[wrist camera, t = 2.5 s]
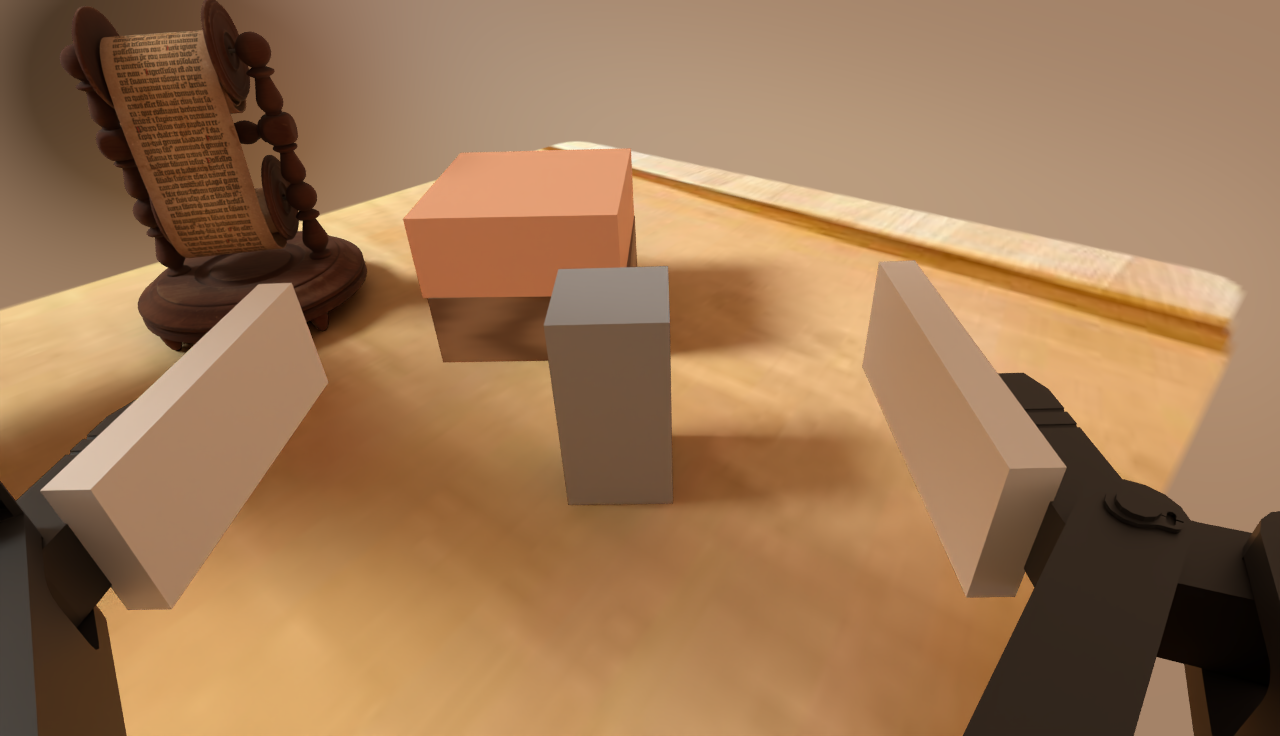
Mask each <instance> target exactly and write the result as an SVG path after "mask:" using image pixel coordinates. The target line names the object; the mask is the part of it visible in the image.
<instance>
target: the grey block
mask: <svg viewBox="0 0 1280 736" xmlns="http://www.w3.org/2000/svg"><path fill="white" fill-rule="evenodd" d="M544 332H545V339H546V346H547V354H548V361H549V368H550V375H551V382H552V390H553V397H554V404H555V411H556V419H557V426H558V433H559V440H560V448H561V455H562V462H563V469H564V476H565V484H566V491H567V498H568V505H593V504H664V503H673V482H672V422H671V362H670V312H669V282H668V266H658V267H621V268H584V269H558V273H557V277H556V280H555V284H554V288H553V292H552V296H551V299H550V303H549V307H548V311H547V315H546V318H545V322H544Z"/></svg>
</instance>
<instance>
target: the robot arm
mask: <svg viewBox="0 0 1280 736" xmlns="http://www.w3.org/2000/svg"><path fill="white" fill-rule="evenodd" d="M862 367H863V369H864V372H865V374H866V376H867V378H868V381H869V383H870V385H871V387H872V389H873V392H874V394H875V396H876V398H877V401H878V403H879V405H880V407H881V409H882V412H883V414H884V416H885V418H886V421H887V423H888V425H889V427H890V429H891V432H892V434H893V436H894V438H895V440H896V443H897V445H898V447H899V449H900V452H901V454H902V456H903V458H904V460H905V463H906V465H907V467H908V469H909V472H910V474H911V476H912V478H913V480H914V483H915V485H916V487H917V489H918V492H919V494H920V496H921V498H922V500H923V503H924V505H925V507H926V509H927V512H928V514H929V516H930V518H931V520H932V523H933V525H934V527H935V529H936V531H937V534H938V536H939V538H940V540H941V543H942V545H943V547H944V549H945V551H946V554H947V556H948V558H949V560H950V563H951V565H952V567H953V569H954V571H955V574H956V576H957V578H958V580H959V583H960V585H961V587H962V589H963V591H964V594H965V596H966V597H1015V596H1016V593H1017V591H1018V588H1019V586H1020V583H1021V581H1022V578H1023V576H1024V573H1025V572H1026V573H1027V575H1028V577H1029V579H1030V581H1031V582H1032V584H1033V586H1034V590H1033V592H1032V594H1031V596H1030V598H1029V600H1028V602H1027V605H1026V607H1025V609H1024V611H1023V613H1022V615H1021V617H1020V619H1019V621H1018V623H1017V625H1016V627H1015V629H1014V631H1013V633H1012V635H1011V637H1010V640H1009V642H1008V644H1007V646H1006V648H1005V650H1004V652H1003V654H1002V656H1001V658H1000V660H999V662H998V664H997V666H996V668H995V670H994V672H993V675H992V677H991V679H990V681H989V683H988V685H987V687H986V689H985V691H984V693H983V695H982V697H981V699H980V701H979V703H978V705H977V707H976V710H975V712H974V714H973V716H972V718H971V720H970V722H969V724H968V726H967V728H966V730H965V732H964V734H963V736H1134V732H1135V729H1136V726H1137V722H1138V719H1139V715H1140V711H1141V708H1142V705H1143V701H1144V698H1145V694H1146V691H1147V687H1148V684H1149V681H1150V677H1151V674H1152V670H1153V667H1154V663H1155V660H1156V657H1159V658H1163V659H1167V660H1171V661H1176V662H1179V663H1183V664H1184V665H1185V673H1186V680H1187V688H1188V695H1189V702H1190V709H1191V717H1192V724H1193V731H1194V736H1280V511H1278V512H1271V513H1270V514H1268V515H1267V516H1265V517H1264V518H1263V519H1261V521H1260V522H1259V524H1258V525H1257V527H1256V528H1255V530H1254V531H1253V533H1249V532H1244V531H1239V530H1234V529H1228V528H1224V527H1219V526H1213V525H1208V524H1203V523H1199V522H1194V521H1191V520H1190V519H1189V518H1188V516H1187V515H1186V514H1185V512H1184V511H1183V509H1182V508H1181V507H1180V506H1179V505H1178V504H1176V503H1175V502H1174V501H1172V500H1171V499H1170V498H1168V497H1167V496H1166V495H1164V494H1162V493H1160V492H1158V491H1156V490H1154V489H1152V488H1150V487H1148V486H1146V485H1143V484H1139V483H1135V482H1132V481H1128V480H1124V479H1122V478H1121V477H1120V476H1119V475H1118V473H1117V472H1116V471H1115V470H1114V469H1113V467H1112V466H1111V465H1110V464H1109V462H1108V461H1107V460H1106V459H1105V458H1104V456H1103V455H1102V454H1101V453H1100V451H1099V450H1098V449H1097V448H1096V447H1095V445H1094V444H1093V443H1092V442H1091V440H1090V439H1089V438H1088V437H1087V436H1086V434H1085V433H1084V432H1083V431H1082V429H1081V428H1080V427H1077V426H1076V424H1077V423H1076V422H1075V421H1074V420H1073V418H1072V417H1071V416H1070V415H1069V414H1068V412H1064V407H1063V406H1062V405H1061V404H1060V403H1059V401H1058V400H1057V399H1056V398H1055V396H1054V395H1053V394H1052V393H1051V391H1050V390H1049V389H1048V388H1046V387H1045V386H1043V385H1041V384H1040V383H1038V382H1037V381H1035V380H1034V379H1032V378H1031V377H1029V376H1028V375H1026V374H1024V373H1001V374H998V373H997V372H996V370H995V369H994V368H993V366H992V365H991V364H990V362H989V361H988V360H987V358H986V357H985V356H984V354H983V353H982V351H981V350H980V349H979V347H978V346H977V345H976V343H975V342H974V341H973V339H972V338H971V336H970V335H969V334H968V332H967V331H966V330H965V328H964V327H963V326H962V324H961V323H960V322H959V320H958V319H957V317H956V316H955V315H954V313H953V312H952V311H951V309H950V308H949V307H948V305H947V304H946V302H945V301H944V300H943V298H942V297H941V296H940V294H939V293H938V292H937V290H936V289H935V288H934V286H933V285H932V283H931V282H930V281H929V279H928V278H927V277H926V275H925V274H924V273H923V271H922V270H921V269H920V267H919V266H918V264H917V263H916V262H915V261H889V262H879V265H878V271H877V278H876V284H875V290H874V297H873V303H872V309H871V315H870V322H869V328H868V334H867V340H866V347H865V353H864V359H863V365H862ZM327 384H328V380H327V377H326V374H325V371H324V369H323V366H322V363H321V361H320V358H319V355H318V353H317V350H316V347H315V344H314V342H313V339H312V336H311V334H310V331H309V328H308V326H307V323H306V320H305V317H304V315H303V312H302V309H301V307H300V304H299V301H298V298H297V296H296V293H295V290H294V288H293V285H292V283H275V284H258V285H257V286H256V287H255V288H254V289H253V290H252V291H251V292H250V293H249V294H248V295H247V296H246V297H245V298H244V299H242V300H241V301H240V302H239V303H238V304H237V305H236V306H235V307H234V308H233V309H232V310H231V311H230V312H229V313H228V314H227V315H226V316H224V317H223V318H222V319H221V320H220V321H219V322H218V323H217V324H216V325H215V326H214V327H213V328H212V329H211V330H210V331H209V332H208V333H206V334H205V335H204V336H203V337H202V338H201V339H200V340H199V341H198V342H197V343H196V344H195V345H194V346H193V347H192V348H191V349H190V350H188V351H187V352H186V353H185V354H184V355H183V356H182V357H181V358H180V359H179V360H178V361H177V362H176V363H175V364H174V365H173V366H172V367H170V368H169V369H168V370H167V371H166V372H165V373H164V374H163V375H162V376H161V377H160V378H159V379H158V380H157V381H156V382H155V383H154V384H152V385H151V386H150V387H149V388H148V389H147V390H146V391H145V392H144V393H143V394H142V395H141V396H140V397H139V398H138V399H137V400H134V401H133V402H131V403H129V404H127V405H126V406H124V407H122V408H121V409H119V410H117V411H116V412H114V413H112V414H111V415H109V416H107V417H106V418H105V419H104V420H103V421H102V422H101V423H100V424H99V425H97V426H96V427H95V428H94V429H93V430H92V431H91V432H90V433H89V434H88V435H87V439H82V440H81V441H80V442H79V443H78V444H77V445H76V446H75V447H74V448H73V449H72V450H70V452H71V453H70V455H65V456H64V457H63V458H62V459H61V460H60V461H59V462H57V463H56V464H55V465H54V466H53V467H52V468H51V469H50V470H49V471H48V472H47V473H46V474H45V475H43V476H42V477H41V478H40V479H39V480H38V481H37V482H36V483H35V484H34V485H33V486H32V487H30V488H29V489H28V490H27V491H26V492H25V493H24V494H23V495H22V496H21V497H20V498H19V499H17V500H16V501H15V499H14V498H13V497H12V496H11V494H10V493H9V492H8V490H7V489H6V488H5V487H4V485H3V484H2V483H1V481H0V736H127V735H126V729H125V724H124V718H123V712H122V707H121V701H120V695H119V689H118V684H117V678H116V672H115V667H114V661H113V655H112V650H111V644H110V638H109V632H108V627H107V621H106V618H105V617H104V615H103V614H102V612H101V611H100V609H99V608H98V607H97V606H96V604H97V603H98V602H99V601H100V599H101V598H102V597H103V596H104V594H105V593H106V592H107V591H108V589H109V588H110V587H111V588H112V589H113V590H114V592H115V593H116V594H117V596H118V597H119V599H120V600H121V601H122V603H123V604H124V605H125V607H126V608H127V609H128V610H149V609H172V608H173V607H174V605H175V604H176V602H177V601H178V599H179V598H180V596H181V595H182V594H183V592H184V591H185V589H186V588H187V586H188V585H189V583H190V582H191V581H192V579H193V578H194V576H195V575H196V573H197V572H198V570H199V569H200V568H201V566H202V565H203V563H204V562H205V560H206V559H207V557H208V556H209V555H210V553H211V552H212V550H213V549H214V547H215V546H216V544H217V543H218V542H219V540H220V539H221V537H222V536H223V534H224V533H225V531H226V530H227V529H228V527H229V526H230V524H231V523H232V521H233V520H234V518H235V517H236V516H237V514H238V513H239V511H240V510H241V508H242V507H243V505H244V504H245V502H246V501H247V500H248V498H249V497H250V495H251V494H252V492H253V491H254V489H255V488H256V487H257V485H258V484H259V482H260V481H261V479H262V478H263V476H264V475H265V474H266V472H267V471H268V469H269V468H270V466H271V465H272V463H273V462H274V461H275V459H276V458H277V456H278V455H279V453H280V452H281V450H282V449H283V448H284V446H285V445H286V443H287V442H288V440H289V439H290V437H291V436H292V435H293V433H294V432H295V430H296V429H297V427H298V426H299V424H300V423H301V422H302V420H303V419H304V417H305V416H306V414H307V413H308V411H309V410H310V409H311V407H312V406H313V404H314V403H315V401H316V400H317V398H318V397H319V395H320V394H321V393H322V391H323V390H324V388H325V387H326V385H327Z"/></svg>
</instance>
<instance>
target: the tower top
mask: <svg viewBox="0 0 1280 736" xmlns="http://www.w3.org/2000/svg"><path fill="white" fill-rule="evenodd" d="M403 221H404V225H405V229H406V233H407V237H408V241H409V245H410V249H411V253H412V257H413V261H414V265H415V269H416V273H417V277H418V281H419V285H420V289H421V293H422V297H423V298H461V297H547V296H552V292H553V288H554V284H555V280H556V277H557V273H558V269H584V268H621V267H627V261H628V254H629V247H630V241H631V234H632V227H633V221H634V206H633V185H632V164H631V149H590V150H552V151H513V152H475V153H460V154H459V155H458V156H457V157H456V159H455V160H454V161H453V162H452V164H451V165H449V167H448V168H447V169H446V170H445V171H444V172H443V174H442V175H441V176H440V177H439V178H438V179H437V180H436V182H435V183H434V184H433V185H432V186H431V187H430V189H429V190H428V191H427V192H426V193H425V194H424V195H423V197H422V198H421V199H420V200H419V201H418V202H417V203H416V205H415V206H414V207H413V208H412V209H411V210H410V212H409V213H408V214H407V215H406V216H405V217H404V218H403Z"/></svg>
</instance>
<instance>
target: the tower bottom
mask: <svg viewBox="0 0 1280 736" xmlns="http://www.w3.org/2000/svg"><path fill="white" fill-rule="evenodd" d="M627 267H637V254H636V233H635V216H634V221H633V227H632V234H631V241H630V247H629V254H628V261H627ZM550 299H551V296H547V297H461V298H428V302H429V306H430V310H431V314H432V318H433V322H434V327H435V331H436V335H437V339H438V343H439V347H440V351H441V355H442V359H443V362H488V361H545V360H548V354H547V346H546V339H545V332H544V322H545V318H546V315H547V311H548V307H549V303H550Z"/></svg>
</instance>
